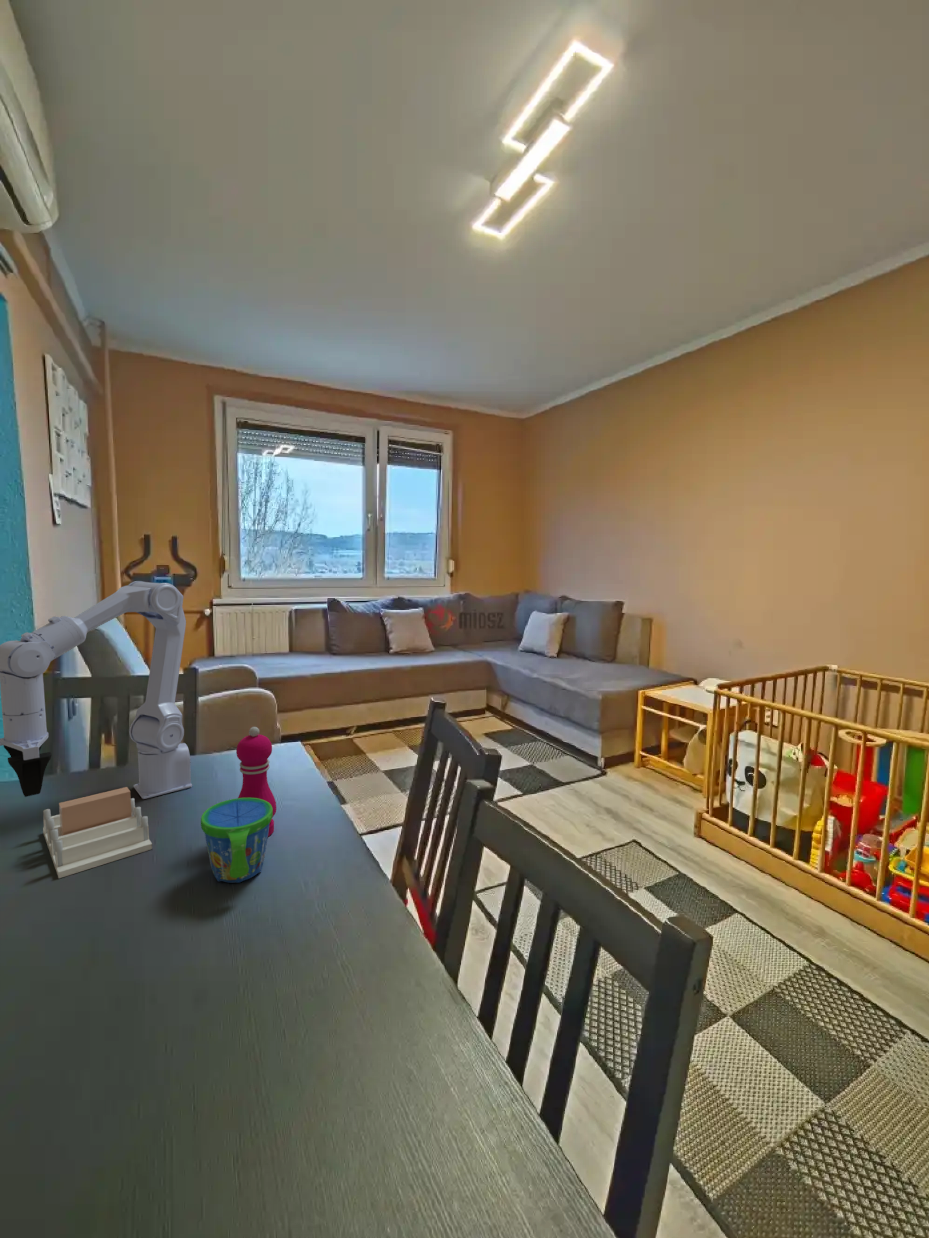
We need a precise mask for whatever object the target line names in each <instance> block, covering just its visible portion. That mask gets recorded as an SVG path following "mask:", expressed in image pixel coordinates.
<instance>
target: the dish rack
mask: <svg viewBox="0 0 929 1238" xmlns="http://www.w3.org/2000/svg"><path fill="white" fill-rule="evenodd" d="M135 804H136V802H135V798H134V797H132V798H131V816H132V817H129V818H125V819H122V820H118V821H114V822H111V823H107V824H103V825H100V826H96V827H92V828H89V829H85V830H81V831H78V832H74V833H70V834H67V835H63V836H61V828H60V813H58V814H56V815H52V814H51V809H50V808H47V809H44V810H43V811H42V816H43V818H42V819H43V821H42V822H43V827H42V834H43V836H44V837H43V838H44V839H45V842H46V844H47V848H48V850H49V854H50V857H51V861H52V862H53V866H54V869H55V872H56V875H57V879H61V878H62V879H63V878H64V877H68V876H72V875H73V874H74V875H75V874H77V873H80V872H83V871H87V870H89V869H93V868H96V867H99V866H102V865H105V864H109V863H112V862H116V861H118V860H122V859H124V858H128V857H132V856H134V855H137V854H141V853H144V852H147V851H150V850H153V843H152V841H151V840H150V830H149V828H150V825H149V818H148V817H149V816H147V815H144V816H142V807H141V806H136V805H135Z"/></svg>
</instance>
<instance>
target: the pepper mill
mask: <svg viewBox="0 0 929 1238" xmlns="http://www.w3.org/2000/svg"><path fill="white" fill-rule="evenodd" d="M248 734H249V735H246V736H244V737H243V738H241V739H240V741H239V742H238V743H237V745H236V750H235V751H236V753H235V754H236V757H237V759H238V760H239V761H240V763H239V767H240V768H239V771H240V773H241V775H242V785H241V790H240V792H239V795H238V796H237V798H258V799H262V800H265V801H267V802H269V803H270V804H271V806H272V809H273V816H272V820H271V822H270V824H269V832H268V838H269V837H270V836H271V835H272V834H273V833H274V831H275V821H274V819H273V817H274V816H275V815H276V812H277V802H276V799H275V796H274V794H273V791H272V790H271V788H270V786H269V782H268V776H267V775H268V770H269V769H270V760H269V758H270V756H271V755H272V753H273V744H272V742H271V740H270V739H269V737H267V736H266V735H263V734H260V728H258V727H257V726H252V727H250V728H249V730H248Z"/></svg>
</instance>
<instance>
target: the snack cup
mask: <svg viewBox="0 0 929 1238" xmlns="http://www.w3.org/2000/svg"><path fill="white" fill-rule="evenodd" d="M272 816H273V809H272V806H271V804H270V803H269V802H267V801H265V800H262V799H258V798H238V797H237V798H231V799H228V800H226V799H225V800H223V801H219V802H218V803H216V804H214V805H212V806H210V807H208V808H207V809H206V810H204V812H203V813H202V815H201V818H200V826H201V830H202V832H203V833H204V836H205V837H204V838H205V842H206V848H207V853H208V857H209V863H210V867H211V870H212V874H213V876H214V878H215V879H216V880H217V882H224V883H229V884H230V883H233V884H234V883H235V884H236V883H238V884H239V883H241V882H244V881H247V880H249V879H251V878H253V877H255V876H256V875H257V874H259V873H261V872H262V869H263V866H264V862H265V858H266V850H267V844H268V838H269V837H268V832H269V824H270V822H271V820H272V819H273V818H272ZM273 817H274V816H273Z"/></svg>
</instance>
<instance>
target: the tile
mask: <svg viewBox="0 0 929 1238" xmlns="http://www.w3.org/2000/svg"><path fill="white" fill-rule="evenodd" d="M58 808H59V809H58V811H59V814H60V828H61V836H63V835H67V834H70V833H74V832H78V831H81V830H85V829H89V828H92V827H96V826H100V825H103V824H107V823H111V822H114V821H118V820H122V819H125V818H129V817H132V816H131V790H130V789H129V787H128V786H124V787H121V788H116V789H112V790H108V791H104V792H99V793H96V794H91V795H86V796H84V797H79V798H75V799H70V800H67V801H66V800H65V801H61V802H58Z"/></svg>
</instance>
